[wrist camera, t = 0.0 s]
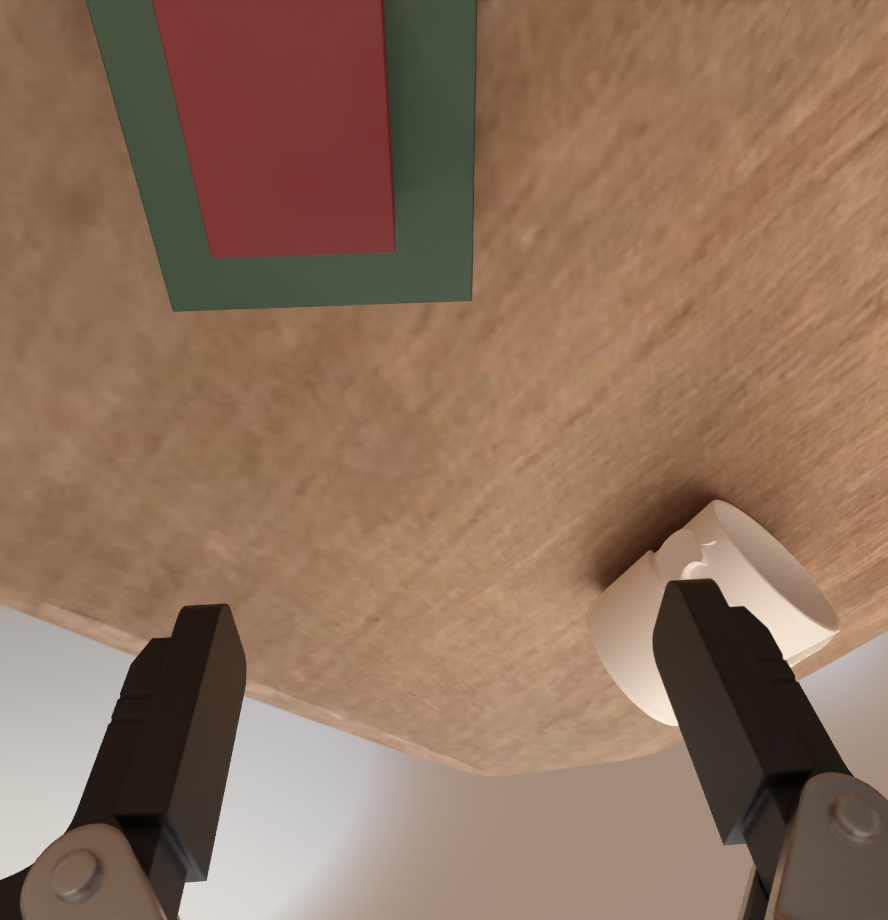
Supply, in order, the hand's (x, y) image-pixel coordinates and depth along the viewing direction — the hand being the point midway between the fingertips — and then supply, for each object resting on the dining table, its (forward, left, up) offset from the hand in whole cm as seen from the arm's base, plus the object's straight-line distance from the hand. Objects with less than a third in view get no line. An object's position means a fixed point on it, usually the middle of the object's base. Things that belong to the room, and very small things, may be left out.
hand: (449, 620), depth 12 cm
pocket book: (-7, -4, -15) cm, 17 cm away
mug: (+19, +15, -18) cm, 30 cm away
